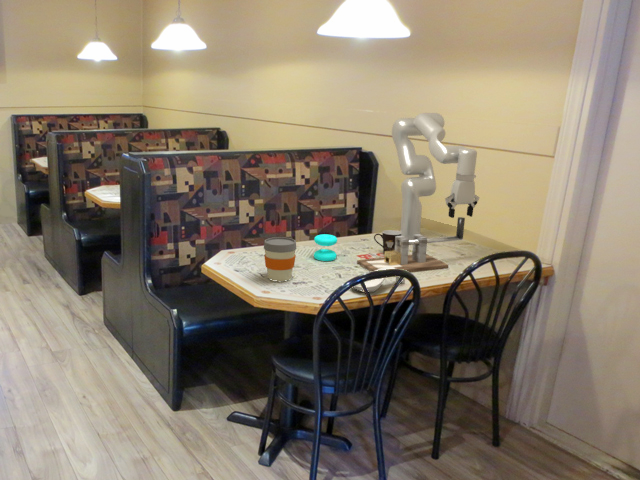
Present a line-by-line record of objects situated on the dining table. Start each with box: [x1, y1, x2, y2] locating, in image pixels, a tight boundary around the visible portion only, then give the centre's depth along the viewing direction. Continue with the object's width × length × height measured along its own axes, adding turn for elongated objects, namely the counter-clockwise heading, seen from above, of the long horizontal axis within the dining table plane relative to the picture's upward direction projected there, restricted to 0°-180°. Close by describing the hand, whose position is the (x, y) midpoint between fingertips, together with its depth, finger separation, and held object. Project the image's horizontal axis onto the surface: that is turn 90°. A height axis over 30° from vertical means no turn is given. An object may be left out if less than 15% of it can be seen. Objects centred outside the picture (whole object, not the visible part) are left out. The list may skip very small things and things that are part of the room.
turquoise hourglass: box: [313, 233, 338, 262], centre depth 256 cm, size 10×10×10 cm
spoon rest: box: [353, 267, 406, 293], centre depth 222 cm, size 24×12×7 cm, turn 126°
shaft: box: [399, 216, 466, 246], centre depth 252 cm, size 3×32×10 cm, turn 114°
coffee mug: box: [373, 229, 402, 255], centre depth 267 cm, size 12×9×10 cm
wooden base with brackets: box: [356, 233, 449, 273], centre depth 248 cm, size 18×34×12 cm, turn 114°
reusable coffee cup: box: [263, 236, 297, 281], centre depth 227 cm, size 13×13×15 cm
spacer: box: [383, 250, 401, 265], centre depth 247 cm, size 5×5×5 cm
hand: (460, 216), depth 257 cm, fingers open, 9 cm apart
